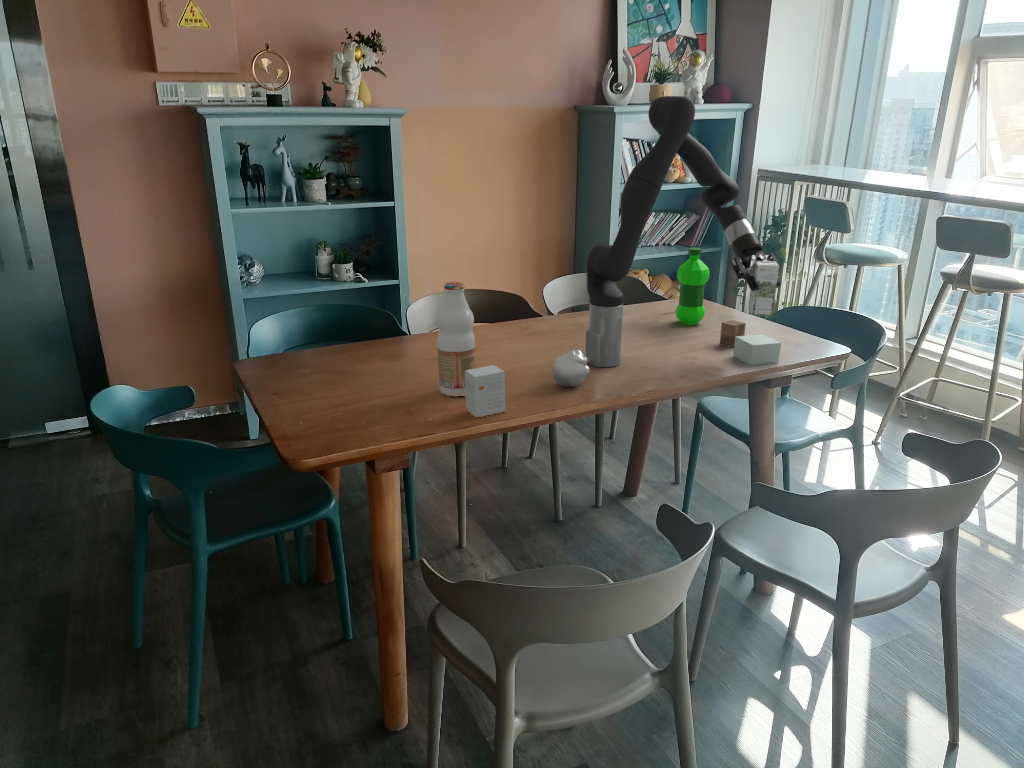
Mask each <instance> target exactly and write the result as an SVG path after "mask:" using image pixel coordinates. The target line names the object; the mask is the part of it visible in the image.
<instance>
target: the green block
mask: <svg viewBox="0 0 1024 768" xmlns="http://www.w3.org/2000/svg"><path fill="white" fill-rule="evenodd" d="M781 345H782V342H781V341H778V340H776V339H774V338H772V337H770V336H767V335H766V334H763V333H762V334H761V333H760V334H750V335H744V336H736V337H735V347H734V348H733V357H735V358H737V359H739V360H740V361H742V362H744V363H746V364H747V365H749V366H756V365H765V364H766V365H767V364H775V363H776V364H777V363H780V353H781Z"/></svg>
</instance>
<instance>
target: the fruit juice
mask: <svg viewBox="0 0 1024 768" xmlns="http://www.w3.org/2000/svg"><path fill="white" fill-rule="evenodd" d="M443 285H444V287H443V288H444V292H445V294H444V298H443V301H442V304H441V307H440V309H439V311H438V313H437V316H436V322H437V323H436V324H437V326H438V330H439V331H438V335H437V342H436V344H437V363H438V367H437V369H438V386H439V387H438V389H439V392H440V391H441V392H442V393H444V394H448V395H466V391H465V370H470V369H476V367H477V366H476V339H475V337H476V336H475V335H474V332H473V327H474V323H475V322H474V321H475V317H474V313H473V311H472V310H471V309H470V306H469V304H468V301H467V298H466V296H465V294H464V291H465V283H463V282H460V281H449V282H445V283H444V284H443ZM441 392H440V393H441Z"/></svg>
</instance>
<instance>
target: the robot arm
mask: <svg viewBox="0 0 1024 768" xmlns="http://www.w3.org/2000/svg"><path fill="white" fill-rule="evenodd" d="M695 117H696V106H695V103H694V101H693V100H692V99H691V98H690V97H688V96H683V95H682V96H681V95H680V96H679V95H664V96H659V97H656V98H655V99H653V101H652V102H651V104H650V106H649V109H648V120H649V123H650V125H651V127H652V128H653V129H654V130H655V132H656V133H657V134H658V135H659V138H658V139H657V141H656V142H655V145H654V146H653V147H652V148H651V149H650V150H649V151H648V153H646V155H645V156H643V158H641V160H639V162H638V163H636V165H635V166H634V167H633V169H632V170H631V172H630V173H629V175H628V178H627V180H626V182H625V185H624V187H623V189H622V191H621V196H620V223H619V224H620V225H619V228H618V232H617V233H616V237H615V239H614V241H613V242H612V243H613V244H606V243H599V244H596V245H594V246H593V247H592V248H591V250H590V251H589V254H588V256H587V261H586V289H587V293H588V297H589V314H588V315H589V316H588V317H589V318H588V321H589V322H588V328H587V329H586V330H585V351H584V353H585V354H584V355H585V356H586V358H587V364H589V365H591V366H593V367H595V368H611V367H617V366H618V365H621V361H622V360H621V359H622V358H621V357H622V342H623V341H622V337H623V336H622V335H623V315H624V294H623V292H622V290H621V289H619V287H618V285H617V283H616V282H620V281H622V280H623V279H625V277H627V275H628V273H629V272H630V269H631V268H632V265H633V263H634V259H635V256H636V253H637V250H638V246H639V243H640V240H641V237H642V234H643V232H644V230H645V227H646V225H647V222H648V219H649V218H650V217H649V216H650V215H651V212H652V210H653V208H654V205H655V203H656V202H657V199H658V196H659V195H660V192H661V191H662V187H663V185H664V181H665V179H666V178H667V175H668V173H669V171H670V168H671V166H672V164H673V162H674V159H675V158H676V156H677V155H678V156H679V158H680V159H681V160H682V161H683V162H684V164H685V166H686V167H687V168H688V170H689V171H690V173H691V175H692V176H693V177H694V179H695V181H696V182H697V184H698V185H699V186H701V187H703V188H704V189H703V190H702V191H701V194H700V195H701V196H700V197H701V198H700V199H701V202H702V204H703V206H705V208H706V209H708V210H709V211H710V212H711V213H712V215H714V216H715V217H716V219H717V221H718V223H720V226H721V228H722V229H723V232H724V234H725V236H726V239H727V243H728V244H729V246H730V248H731V249H732V252H733V254H734V256H735V257H733V259H732V260H731V261H730V264H731V267H732V268H733V271H734V273H735V275H736V277H737V279H739V280H741V279H743V280H744V281H746V284H747V285H748V287H749V289H750V290H752V291H755V290H757V289H758V284H757V282H756V280H755V278H754V276H752V272H753V269H754V264H755V261H775V262H776V263H777V264H778V266H779V270H778V273H779V272H780V271H782V268H781V265H780V264H779V262H778V260H777V258H776V256H775V254H774V253H773V252H770V253H769V254H765V253H764V252H763V245H762V243H761V241H760V239H759V237H758V235H757V234H756V232H755V229H754V228H753V226H752V225H751V223H750V222H749V220H748V218H747V216H746V214H745V212H744V210H743V208H742V207H741V206H740V205H738V204H734V205H729V206H726V205H727V204H729V203H730V202H733V201H734V200H736V199H737V198H738V197H739V194H740V187H739V185H738V184H737V182H736V181H735V179H733V178H732V177H730V176H729V175H728V174H726V172H724V171H723V170H722V169H721V168H720V167H719V166H718V164H717V162H716V161H715V159H714V157H713V155H712V154H711V152H710V151H709V150H708V149H707V148H706V147H705V146H704V145H703V144H701V143H700V142H699V141H698V140H697V139H696V138H694V137H693V136H692V135H691V134H690V133H689V131H690V129H691V127H692V125H693V123H694V120H695ZM705 187H706V188H705ZM724 206H726V207H724ZM781 286H782V281H781V279H780V276H778V278H777V285H776V289H778V288H779V287H781Z"/></svg>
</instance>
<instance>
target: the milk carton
mask: <svg viewBox="0 0 1024 768" xmlns="http://www.w3.org/2000/svg"><path fill="white" fill-rule="evenodd" d="M778 270H779V266H778V264H777V263H776V262H775V261H755V264H754V269H753V272H752V276H754V278H755V280H756V282H757V284H758V289H757V290H755V291H752V290H751V289H750V291H749V300H748V309H747V310H748V312H749V313H750V315H751V316H763V317H764V316H773V314H774V307H775V301H776V300H775V299H776V291H777V288H776V285H777V278H778V277H779V272H778Z"/></svg>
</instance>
